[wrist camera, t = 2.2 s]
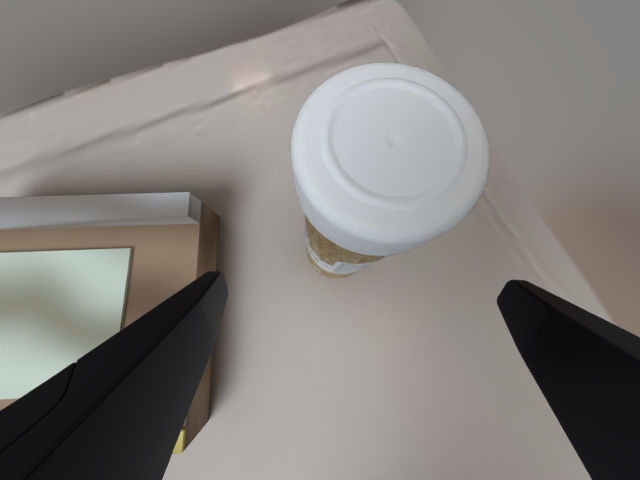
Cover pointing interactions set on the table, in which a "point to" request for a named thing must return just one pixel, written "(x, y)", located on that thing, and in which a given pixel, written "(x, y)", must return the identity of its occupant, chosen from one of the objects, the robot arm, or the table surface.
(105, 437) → the robot arm
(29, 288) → the dock
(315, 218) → the sprinkles bottle
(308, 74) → the table surface
